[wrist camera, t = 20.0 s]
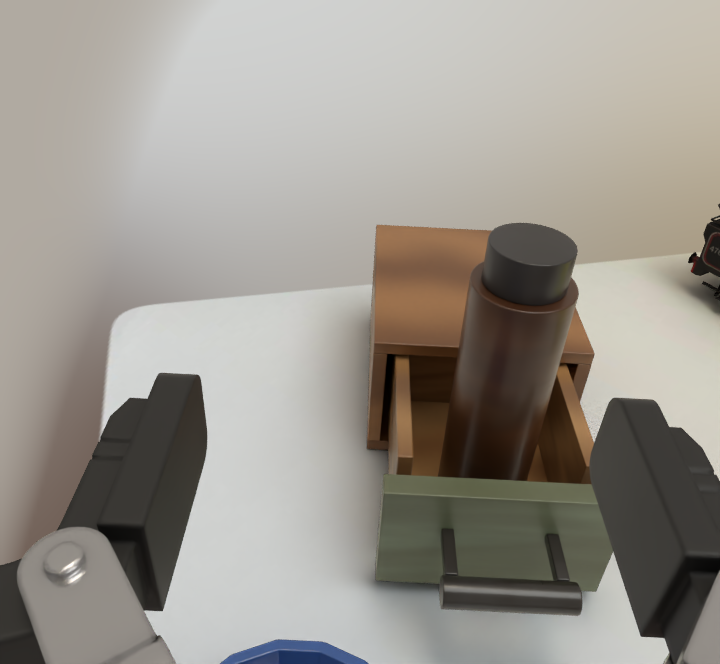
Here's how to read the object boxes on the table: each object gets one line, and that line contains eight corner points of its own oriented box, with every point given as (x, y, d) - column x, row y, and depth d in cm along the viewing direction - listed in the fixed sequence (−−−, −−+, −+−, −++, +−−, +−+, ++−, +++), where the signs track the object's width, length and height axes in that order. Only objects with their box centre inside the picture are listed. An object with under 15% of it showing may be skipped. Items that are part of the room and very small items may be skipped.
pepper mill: (438, 523, 37) (483, 268, 27) (433, 457, 40) (471, 214, 31) (527, 528, 37) (603, 274, 27) (514, 462, 40) (575, 220, 31)
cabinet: (562, 459, 44) (595, 353, 38) (366, 449, 44) (374, 342, 38) (524, 326, 55) (545, 233, 50) (370, 318, 55) (376, 224, 50)
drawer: (617, 667, 32) (661, 582, 28) (374, 655, 32) (383, 568, 28) (545, 412, 46) (568, 331, 42) (377, 403, 46) (383, 321, 42)
